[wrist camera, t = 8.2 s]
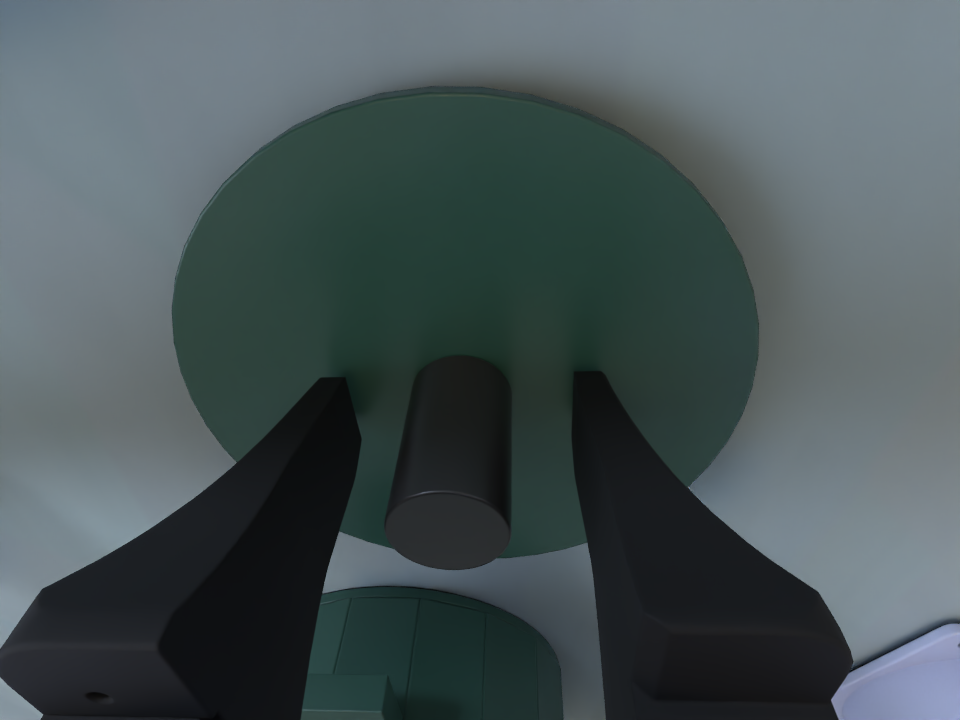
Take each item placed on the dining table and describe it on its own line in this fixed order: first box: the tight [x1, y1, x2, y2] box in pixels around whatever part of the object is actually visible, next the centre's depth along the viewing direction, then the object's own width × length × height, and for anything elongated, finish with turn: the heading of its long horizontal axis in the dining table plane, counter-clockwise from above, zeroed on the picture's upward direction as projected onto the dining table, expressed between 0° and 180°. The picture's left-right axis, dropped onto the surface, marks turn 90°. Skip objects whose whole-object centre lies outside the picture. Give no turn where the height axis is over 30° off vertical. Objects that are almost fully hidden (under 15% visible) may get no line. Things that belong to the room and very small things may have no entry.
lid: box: [172, 86, 759, 570], centre depth 13 cm, size 14×14×5 cm
